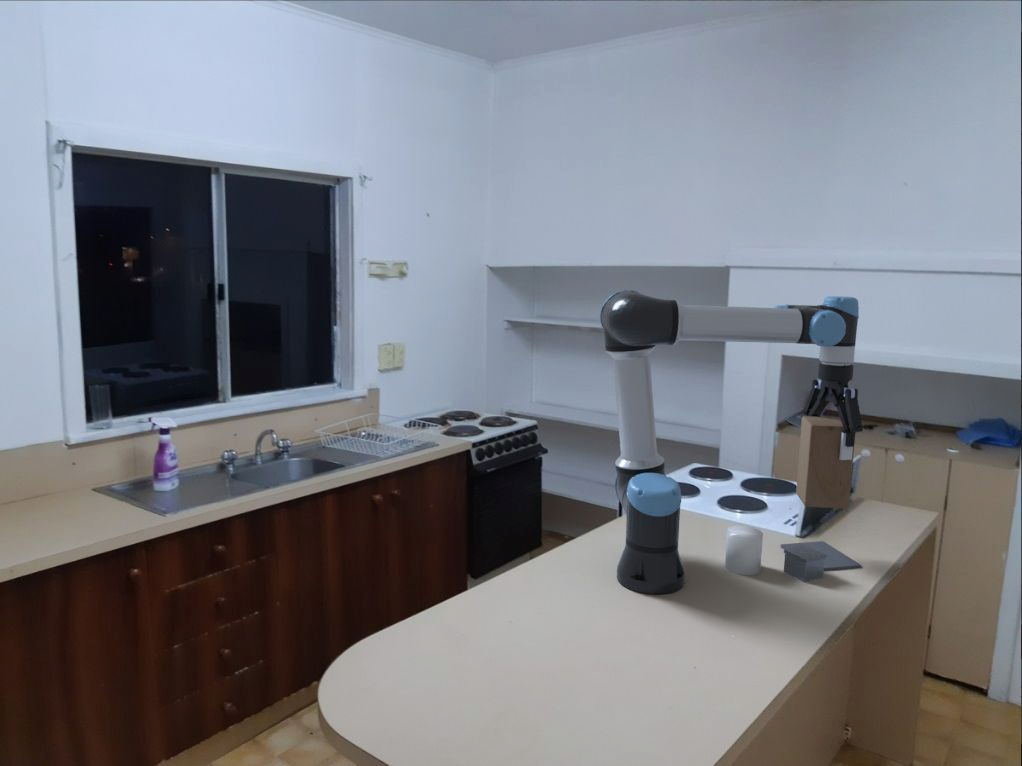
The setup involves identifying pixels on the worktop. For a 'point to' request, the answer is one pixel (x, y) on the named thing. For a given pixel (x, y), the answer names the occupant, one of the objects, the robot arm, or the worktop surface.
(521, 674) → the worktop surface
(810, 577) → the tea tin
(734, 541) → the white rounded cylinder
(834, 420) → the wooden block
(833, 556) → the mat
